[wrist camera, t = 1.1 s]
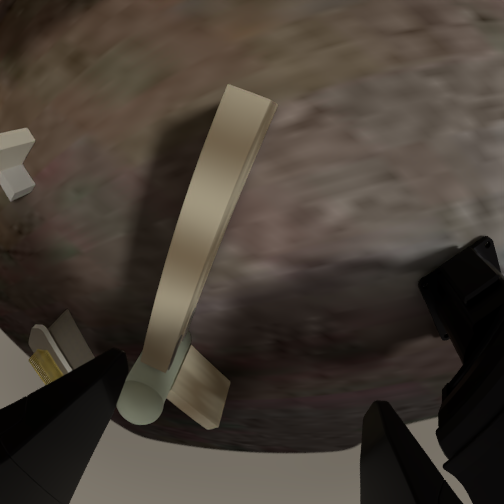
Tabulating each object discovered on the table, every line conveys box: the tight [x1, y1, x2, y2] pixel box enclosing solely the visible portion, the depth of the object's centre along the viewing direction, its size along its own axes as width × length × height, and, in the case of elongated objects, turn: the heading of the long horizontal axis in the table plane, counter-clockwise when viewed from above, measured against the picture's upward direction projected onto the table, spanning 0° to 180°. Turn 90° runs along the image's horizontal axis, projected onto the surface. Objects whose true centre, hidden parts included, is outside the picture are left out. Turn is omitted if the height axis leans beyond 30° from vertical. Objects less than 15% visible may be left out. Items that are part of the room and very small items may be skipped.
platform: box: [29, 309, 95, 385], centre depth 24 cm, size 12×18×6 cm, turn 12°
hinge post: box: [116, 331, 192, 425], centre depth 20 cm, size 3×3×9 cm
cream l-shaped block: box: [0, 128, 36, 201], centre depth 16 cm, size 4×4×6 cm
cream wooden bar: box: [140, 84, 278, 373], centre depth 17 cm, size 17×2×5 cm, turn 158°
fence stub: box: [167, 345, 230, 430], centre depth 23 cm, size 5×1×5 cm, turn 38°
